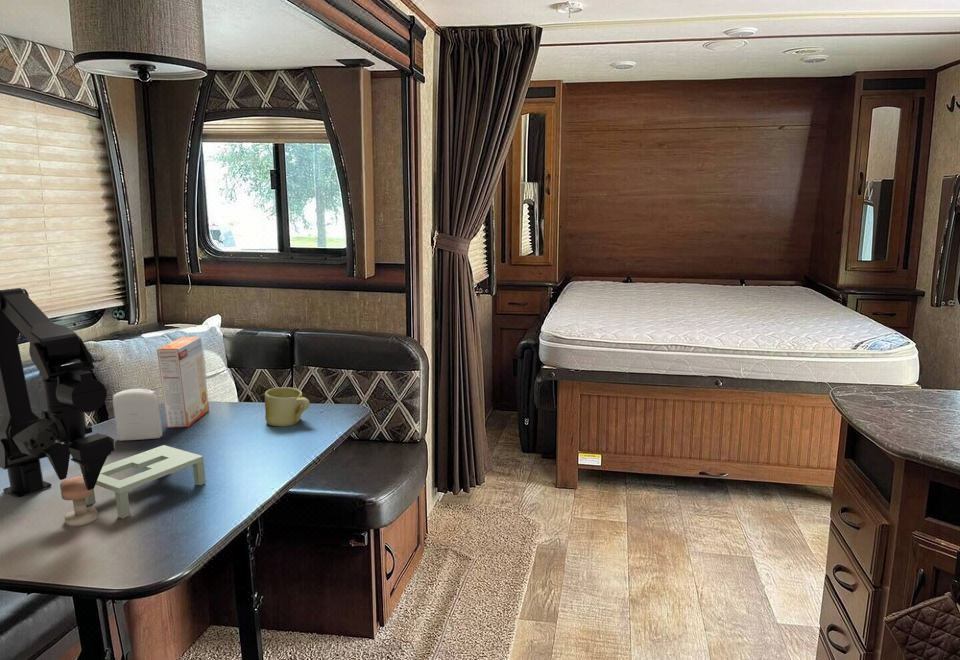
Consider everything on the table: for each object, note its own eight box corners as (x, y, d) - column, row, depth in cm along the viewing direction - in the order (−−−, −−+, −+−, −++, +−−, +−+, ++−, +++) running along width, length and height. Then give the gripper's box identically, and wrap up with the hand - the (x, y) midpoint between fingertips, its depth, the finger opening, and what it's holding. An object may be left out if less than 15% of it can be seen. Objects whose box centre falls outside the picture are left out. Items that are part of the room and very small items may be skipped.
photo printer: (115, 442, 172) (108, 393, 170) (122, 436, 176) (115, 388, 174) (159, 439, 173) (153, 390, 170) (165, 433, 177) (159, 386, 175)
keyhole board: (83, 503, 138) (79, 474, 137) (166, 471, 153) (163, 445, 152) (122, 518, 131) (118, 488, 130) (205, 483, 146) (202, 456, 145)
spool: (60, 522, 131) (54, 483, 129) (87, 510, 135) (82, 473, 134) (75, 528, 128) (69, 489, 127) (103, 517, 132) (98, 479, 131)
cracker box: (188, 411, 195) (180, 336, 191) (210, 410, 195) (202, 336, 191) (164, 428, 181) (155, 348, 177) (188, 428, 181) (179, 347, 177)
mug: (249, 417, 182) (261, 380, 182) (280, 418, 191) (292, 383, 190) (278, 435, 175) (291, 397, 175) (310, 436, 184) (321, 399, 183)
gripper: (-11, 406, 125) (3, 489, 128) (45, 423, 116) (59, 513, 119) (54, 390, 135) (65, 468, 138) (111, 405, 125) (122, 488, 128)
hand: (76, 484), depth 130 cm, fingers open, 9 cm apart
